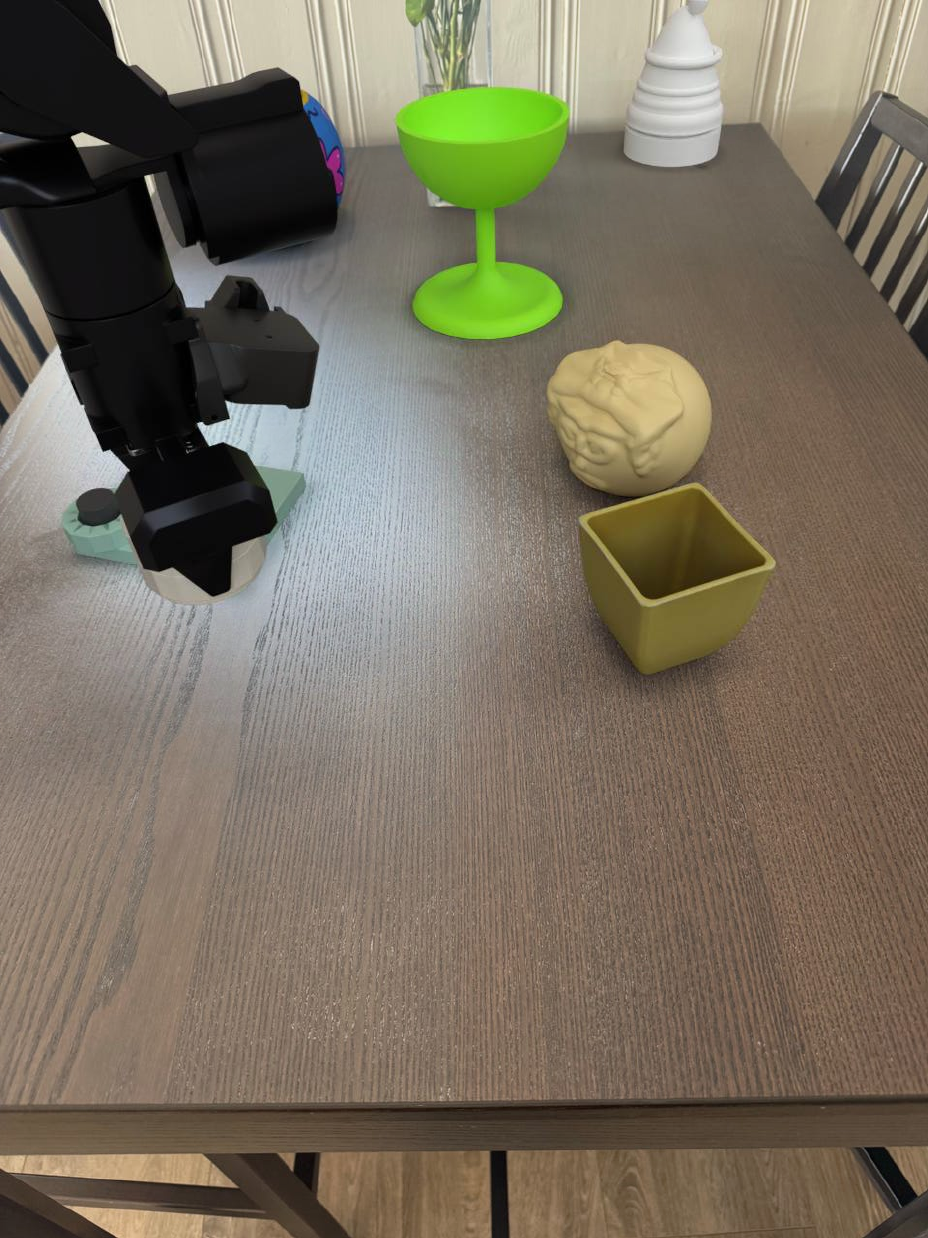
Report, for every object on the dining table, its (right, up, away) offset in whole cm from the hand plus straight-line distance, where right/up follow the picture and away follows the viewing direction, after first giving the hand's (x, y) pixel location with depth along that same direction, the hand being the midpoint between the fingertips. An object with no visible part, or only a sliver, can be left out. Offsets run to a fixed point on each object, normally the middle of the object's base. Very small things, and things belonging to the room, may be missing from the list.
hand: (202, 553), depth 50 cm
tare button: (-13, +4, +16) cm, 21 cm away
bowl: (0, -1, +1) cm, 1 cm away
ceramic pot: (-7, +43, +57) cm, 71 cm away
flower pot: (+28, -5, +9) cm, 30 cm away
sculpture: (+28, +8, +22) cm, 36 cm away
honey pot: (+44, +61, +71) cm, 104 cm away
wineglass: (+17, +30, +43) cm, 55 cm away
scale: (-6, +4, +20) cm, 21 cm away
